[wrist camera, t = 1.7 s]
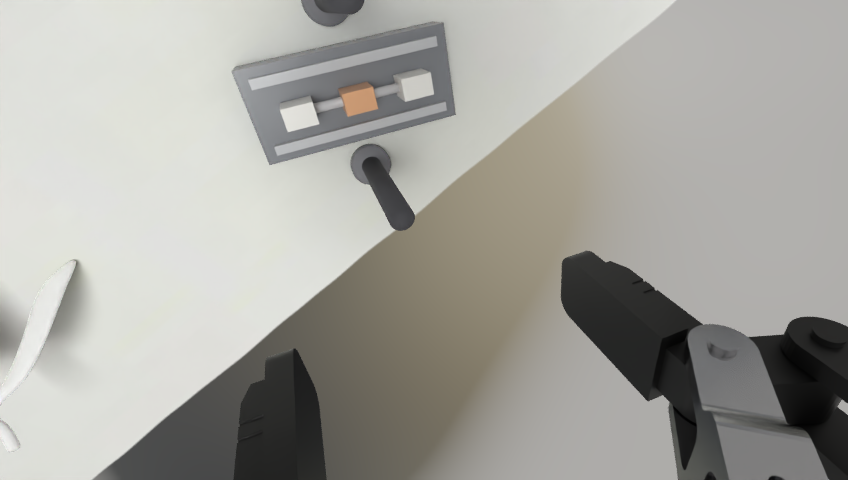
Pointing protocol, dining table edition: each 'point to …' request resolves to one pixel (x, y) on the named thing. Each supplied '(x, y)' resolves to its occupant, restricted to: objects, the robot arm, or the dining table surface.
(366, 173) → the dark grey lever handle
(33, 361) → the pear ornament
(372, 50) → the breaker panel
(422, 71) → the white and orange bar
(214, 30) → the dining table surface
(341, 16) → the dark grey cylinder
